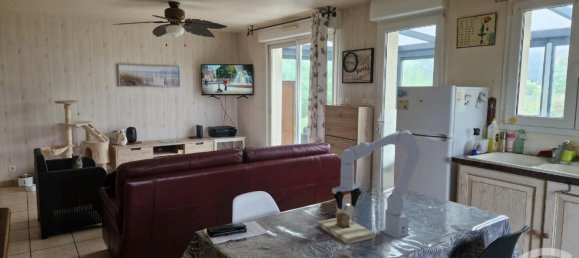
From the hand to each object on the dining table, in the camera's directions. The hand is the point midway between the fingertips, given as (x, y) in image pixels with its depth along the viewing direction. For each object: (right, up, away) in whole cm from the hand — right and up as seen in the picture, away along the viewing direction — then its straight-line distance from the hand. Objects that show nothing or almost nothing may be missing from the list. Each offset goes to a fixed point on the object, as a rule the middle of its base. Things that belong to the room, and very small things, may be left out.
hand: (346, 207), depth 164 cm
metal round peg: (+1, -8, +14) cm, 16 cm away
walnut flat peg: (-2, -10, -2) cm, 10 cm away
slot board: (-1, -10, -3) cm, 10 cm away
